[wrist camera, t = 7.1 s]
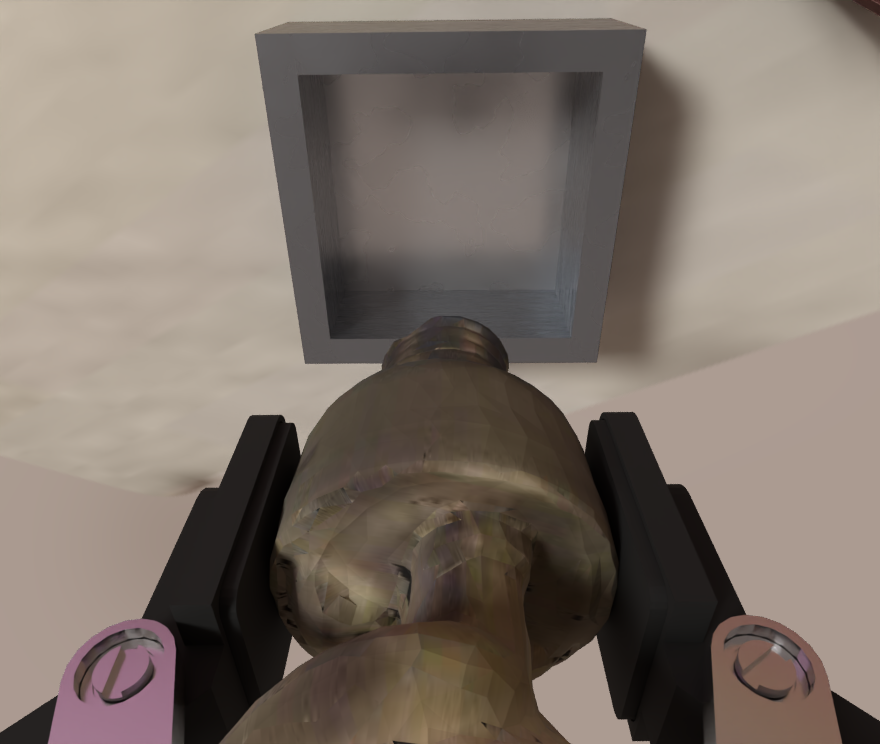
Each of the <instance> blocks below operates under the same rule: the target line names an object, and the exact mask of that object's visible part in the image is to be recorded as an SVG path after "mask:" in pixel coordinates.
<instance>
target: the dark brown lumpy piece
mask: <svg viewBox="0 0 880 744" xmlns="http://www.w3.org/2000/svg"><path fill="white" fill-rule="evenodd" d="M852 1H854V2H856V3H857V4H859V5H860V6H862V7H864V8H866V9H867V10H869V11H871V12H873V13H875V14H876V15H878V16H880V0H852Z"/></svg>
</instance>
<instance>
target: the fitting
mask: <svg viewBox="0 0 880 744" xmlns="http://www.w3.org/2000/svg"><path fill="white" fill-rule="evenodd" d="M646 30H647V29H644V28H640V27H637V26H634V25H631V24H628V23H624V22H621V21H618V20H615V19H612V18H607V19H521V20H435V21H348V22H287V23H285V24H282V25H279V26H276V27H273V28H270V29H267V30H264V31H261V32H259V33H256V34H255V39H256V46H257V52H258V59H259V65H260V72H261V78H262V85H263V91H264V98H265V105H266V111H267V118H268V124H269V131H270V137H271V144H272V150H273V157H274V163H275V170H276V176H277V183H278V190H279V196H280V203H281V209H282V216H283V222H284V229H285V235H286V242H287V248H288V255H289V262H290V268H291V275H292V281H293V288H294V294H295V301H296V307H297V314H298V320H299V327H300V333H301V340H302V347H303V353H304V360H305V364H333V363H383V360H384V356H385V354H386V353H387V351H388V350H389V348H390V347H391V345H392V344H393V342H394V341H396V340H399V339H401V338H404V337H406V336H408V335H409V334H411V333H412V332H413V331H415V330H416V329H417V328H419V327H420V326H421V325H423V324H424V323H425V322H426V321H428V320H429V319H430V318H433V317H437V316H461V317H464V318H468V319H471V320H474V321H477V322H479V323H481V324H482V325H484V326H486V327H488V328H489V329H490V330H491V331H492V332H493V333H494V334H495V335H496V336H497V337H498V338H499V339H500V340H501V342H502V344H503V346H504V348H505V350H506V352H507V354H508V359H509V363H574V362H597V357H598V350H599V343H600V337H601V330H602V323H603V317H604V310H605V303H606V297H607V290H608V283H609V277H610V270H611V263H612V257H613V250H614V243H615V237H616V230H617V223H618V217H619V210H620V203H621V197H622V190H623V183H624V177H625V170H626V163H627V157H628V150H629V143H630V137H631V130H632V123H633V117H634V110H635V103H636V97H637V90H638V83H639V77H640V70H641V63H642V57H643V50H644V43H645V37H646Z"/></svg>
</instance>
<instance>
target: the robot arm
mask: <svg viewBox="0 0 880 744" xmlns="http://www.w3.org/2000/svg"><path fill="white" fill-rule="evenodd" d="M585 456H586V459H587V462H588V465H589V468H590V471H591V474H592V477H593V481H594V484H595V486H596V489H597V491H598V493H599V496H600V498H601V500H602V503H603V505H604V507H605V510H606V512H607V516H608V520H609V524H610V528H611V532H612V536H613V541H614V545H615V549H616V553H617V557H618V561H619V569H618V583H617V590H616V593H615V597H614V601H613V604H612V608H611V612H610V615H609V618H608V620H607V621H606V622H605V624H604V625H603V626H602V628H601V629H600V630H599V632H598V633H597V634H596V635H597V639H598V644H599V648H600V652H601V656H602V661H603V665H604V669H605V674H606V678H607V682H608V687H609V691H610V695H611V699H612V704H613V708H614V711H615V714H616V717H617V718H618V719H627V720H628V725H629V728H630V732H631V737H632V741H650V744H880V721H879V720H877V719H875V718H873V717H872V716H871V715H869V714H868V713H866V712H864V711H863V710H861V709H860V708H858V707H857V706H855V705H853V704H852V703H850V702H849V701H847V700H846V699H844V698H842V697H841V696H839V695H837V694H836V693H834V692H833V691H831V689H830V685H829V680H828V676H827V674H826V671H825V668H824V666H823V663H822V661H821V659H820V658H819V657H818V655H817V654H816V653H815V651H814V650H813V648H812V647H811V646H810V645H809V644H808V643H807V642H806V641H805V640H804V639H803V638H801V637H800V636H799V635H798V634H797V633H796V632H794V631H792V630H791V629H789V628H787V627H786V626H784V625H782V624H780V623H778V622H776V621H773V620H770V619H767V618H764V617H760V616H751V615H746V613H745V611H744V609H743V607H742V605H741V602H740V601H739V598H738V596H737V594H736V592H735V590H734V588H733V586H732V583H731V581H730V579H729V577H728V575H727V573H726V571H725V569H724V567H723V564H722V562H721V560H720V558H719V556H718V554H717V552H716V549H715V547H714V545H713V544H712V541H711V539H710V537H709V535H708V533H707V531H706V528H705V526H704V524H703V522H702V520H701V518H700V516H699V513H698V511H697V509H696V507H695V505H694V503H693V501H692V499H691V496H690V495H689V493H688V491H687V489H686V488H685V487H684V486H683V485H681V484H666V482H665V479H664V477H663V475H662V472H661V470H660V468H659V466H658V463H657V461H656V459H655V456H654V454H653V452H652V449H651V448H650V445H649V443H648V440H647V438H646V436H645V433H644V431H643V429H642V427H641V424H640V422H639V420H638V417H637V416H636V414H635V413H633V412H603V413H602V414H601V416H600V419H599V420H592V421H591V422H590V424H589V430H588V436H587V443H586V449H585ZM300 457H301V455H300V449H299V443H298V438H297V432H296V427H295V424H294V423H286V422H285V419H284V417H283V416H282V415H252V416H250V417H249V419H248V420H247V423H246V425H245V428H244V430H243V432H242V435H241V437H240V439H239V442H238V444H237V446H236V449H235V451H234V453H233V456H232V458H231V460H230V463H229V465H228V467H227V470H226V472H225V475H224V477H223V479H222V482H221V484H220V486H219V488H205V489H203V490H202V491H201V492H200V494H199V496H198V497H197V499H196V501H195V504H194V506H193V508H192V510H191V512H190V515H189V517H188V519H187V521H186V523H185V525H184V528H183V530H182V532H181V534H180V536H179V539H178V541H177V543H176V545H175V548H174V549H173V552H172V554H171V556H170V558H169V560H168V563H167V565H166V567H165V569H164V571H163V573H162V576H161V578H160V580H159V582H158V585H157V586H156V589H155V591H154V593H153V595H152V597H151V600H150V602H149V604H148V606H147V608H146V611H145V613H144V615H143V617H142V619H135V620H127V621H123V622H120V623H118V624H115V625H112V626H110V627H107V628H106V629H104V630H103V631H101V632H99V633H98V634H96V635H94V636H93V637H91V638H90V639H89V640H88V641H87V642H86V643H85V644H84V645H83V646H82V647H80V648H79V649H78V650H77V652H76V653H75V655H74V656H73V657H72V659H71V660H70V662H69V663H68V664H67V666H66V669H65V672H64V674H63V677H62V680H61V683H60V688H59V693H58V695H57V696H56V697H54V698H53V699H51V700H50V701H48V702H47V703H45V704H43V705H42V706H41V707H39V708H37V709H36V710H34V711H33V712H31V713H30V714H28V715H27V716H25V717H24V718H22V719H21V720H19V721H18V722H16V723H14V724H13V725H11V726H10V727H8V728H7V729H5V730H4V731H2V732H1V733H0V744H219V743H220V742H221V741H222V740H223V738H224V737H225V736H226V735H227V734H228V733H229V732H230V730H231V729H232V728H233V727H234V726H235V725H236V723H237V722H238V721H239V720H240V719H241V718H242V716H243V715H244V714H245V713H246V712H247V711H248V709H249V708H250V707H251V706H252V705H253V704H254V702H255V701H256V700H258V699H259V698H260V697H261V696H263V695H264V694H265V693H266V692H268V691H269V690H270V689H271V688H273V687H274V686H275V685H276V684H278V683H279V682H280V681H281V680H282V679H283V675H284V670H285V666H286V661H287V657H288V652H289V647H290V643H291V639H292V635H291V633H290V632H289V631H288V630H287V628H286V626H285V625H284V623H283V621H282V619H281V617H280V615H279V612H278V609H277V606H276V603H275V600H274V597H273V595H272V593H271V590H270V557H271V554H272V550H273V547H274V543H275V539H276V536H277V532H278V526H279V521H280V516H281V512H282V508H283V503H284V499H285V497H286V495H287V492H288V490H289V488H290V486H291V483H292V480H293V477H294V474H295V472H296V469H297V466H298V463H299V460H300Z"/></svg>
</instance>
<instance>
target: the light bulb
mask: <svg viewBox="0 0 880 744" xmlns="http://www.w3.org/2000/svg"><path fill="white" fill-rule="evenodd" d="M508 369H509V359H508V354H507V352H506V350H505V348H504V346H503V344H502V342H501V340H500V339H499V338H498V337H497V336H496V335H495V334H494V333H493V332H492V331H491V330H490V329H489V328H488V327H486V326H484V325H482V324H481V323H479V322H477V321H474V320H471V319H468V318H464V317H461V316H437V317H433V318H430V319H429V320H428V321H426V322H425V323H424V324H423V325H421V326H420V327H419V328H417V329H416V330H415V331H413V332H412V333H411V334H409V335H408V336H406V337H404V338H401V339H399V340H396V341H394V342H393V344H392V345H391V347H390V348H389V350H388V351H387V353H386V354H385V356H384V360H383V364H382V370H381V371H379V372H377V373H375V374H373V375H371V376H370V377H368V378H366V379H364V380H362V381H361V382H359V383H358V384H356V385H355V386H354V387H352V388H351V389H350V390H348V391H347V392H346V393H344V394H343V395H342V396H340V397H339V398H338V399H337V400H336V401H335V402H334V403H333V404H332V405H331V406H330V407H329V408H328V409H327V410H326V412H325V413H324V415H323V416H322V417H321V419H320V420H319V422H318V423H317V425H316V426H315V427H314V429H313V430H312V432H311V433H310V435H309V436H308V439H307V442H306V444H305V447H304V449H303V452H302V455H301V457H300V460H299V463H298V466H297V469H296V472H295V474H294V477H293V480H292V483H291V486H290V488H289V490H288V492H287V495H286V497H285V499H284V503H283V508H282V512H281V516H280V521H279V526H278V532H277V536H276V539H275V543H274V547H273V550H272V554H271V557H270V590H271V593H272V595H273V597H274V600H275V603H276V606H277V609H278V612H279V615H280V617H281V619H282V621H283V623H284V625H285V626H286V628H287V630H288V631H289V632H290V633H291V635H292V636H293V637H294V638H295V640H296V641H297V642H298V643H299V644H300V646H301V647H302V648H303V649H304V650H305V651H307V652H308V653H309V654H310V655H311V656H313V658H312V659H310V660H309V661H307V662H305V663H304V664H302V665H300V666H299V667H297V668H296V669H295V670H294V671H292V672H291V673H290V674H289V675H288V676H286V677H285V678H284V679H282V680H281V681H280V682H279V683H278V684H276V685H275V686H274V687H273V688H271V689H270V690H269V691H268V692H266V693H265V694H264V695H263V696H261V697H260V698H259V699H258V700H256V701H255V702H254V704H253V705H252V706H251V707H250V708H249V709H248V711H247V712H246V713H245V714H244V715H243V716H242V718H241V719H240V720H239V721H238V722H237V723H236V725H235V726H234V727H233V728H232V729H231V730H230V732H229V733H228V734H227V735H226V736H225V737H224V738H223V740H222V741H221V742H220V743H219V744H570V743H569V742H568V741H567V740H566V739H565V738H564V737H563V736H562V735H561V734H560V733H559V732H558V731H557V730H556V729H555V728H554V727H553V726H552V725H551V723H550V722H549V721H548V720H547V719H546V718H545V717H544V716H543V715H542V714H541V713H540V712H539V710H538V706H537V702H536V699H535V695H534V691H533V686H532V680H534V679H535V678H537V677H539V676H541V675H542V674H544V673H545V672H546V671H548V670H549V669H550V668H551V667H552V666H555V665H557V664H559V663H561V662H563V661H564V660H566V659H568V658H569V657H570V656H571V655H573V654H574V653H575V652H576V651H577V650H579V649H581V648H582V647H583V646H585V645H586V644H588V643H589V642H591V641H592V640H593V638H594V637H595V636H596V634H597V633H598V632H599V630H600V629H601V628H602V626H603V625H604V624H605V622H606V621H607V620H608V618H609V615H610V612H611V608H612V604H613V601H614V597H615V593H616V590H617V583H618V569H619V561H618V557H617V553H616V549H615V545H614V541H613V536H612V532H611V528H610V524H609V520H608V516H607V512H606V510H605V507H604V505H603V503H602V500H601V498H600V496H599V493H598V491H597V489H596V486H595V484H594V481H593V477H592V474H591V471H590V468H589V465H588V462H587V459H586V456H585V453H584V451H583V448H582V446H581V444H580V442H579V440H578V438H577V436H576V434H575V432H574V431H573V429H572V427H571V426H570V424H569V422H568V421H567V419H566V417H565V416H564V414H563V413H562V412H561V410H560V409H559V408H558V407H557V406H556V405H555V404H554V403H553V401H552V400H551V399H549V398H548V397H547V396H546V395H544V394H543V393H542V392H540V391H539V390H538V389H537V388H535V387H534V386H532V385H531V384H529V383H527V382H526V381H524V380H522V379H520V378H519V377H517V376H515V375H513V374H510V373H508Z"/></svg>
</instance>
